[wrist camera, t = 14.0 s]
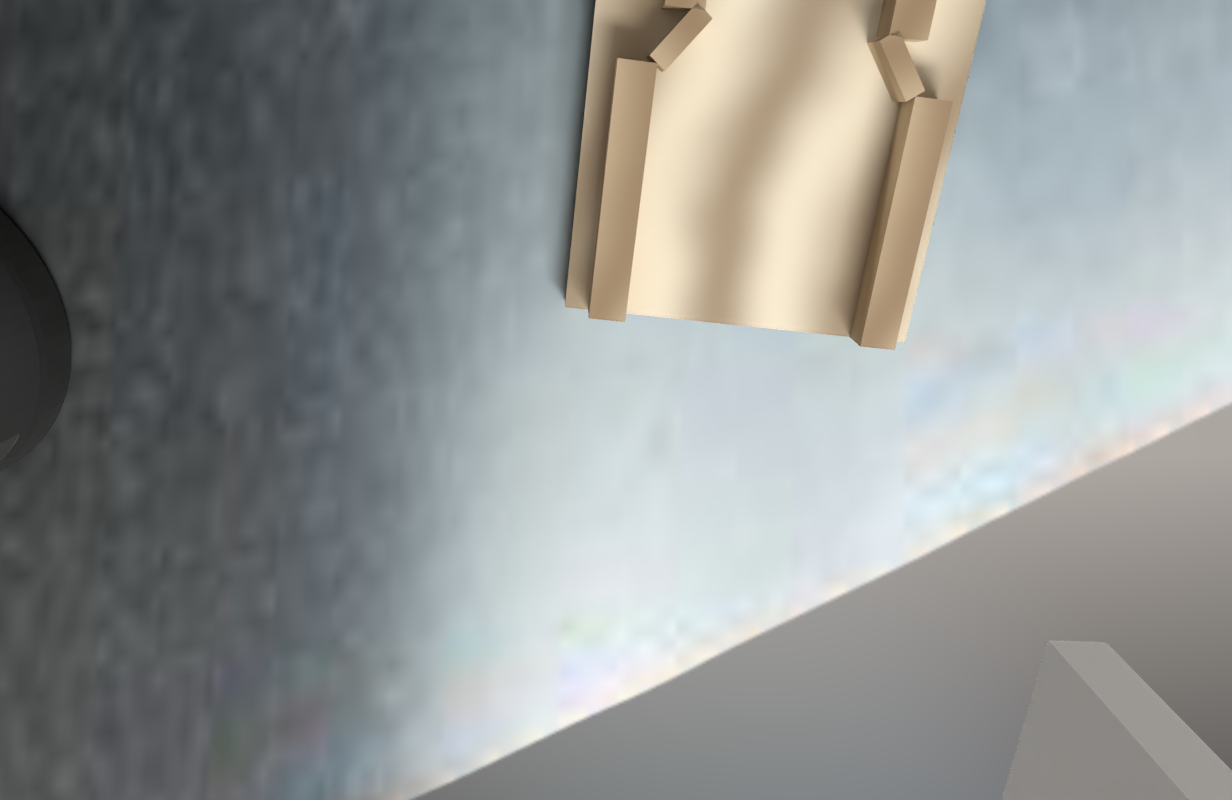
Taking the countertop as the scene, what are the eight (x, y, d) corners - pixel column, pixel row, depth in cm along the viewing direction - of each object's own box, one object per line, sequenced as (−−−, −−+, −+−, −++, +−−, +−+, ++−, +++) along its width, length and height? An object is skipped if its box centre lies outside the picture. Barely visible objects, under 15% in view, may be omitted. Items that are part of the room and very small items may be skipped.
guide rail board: (565, 301, 38) (563, 331, 33) (633, -378, 30) (644, -466, 25) (896, 336, 39) (941, 370, 34) (1047, -307, 31) (1132, -379, 26)
